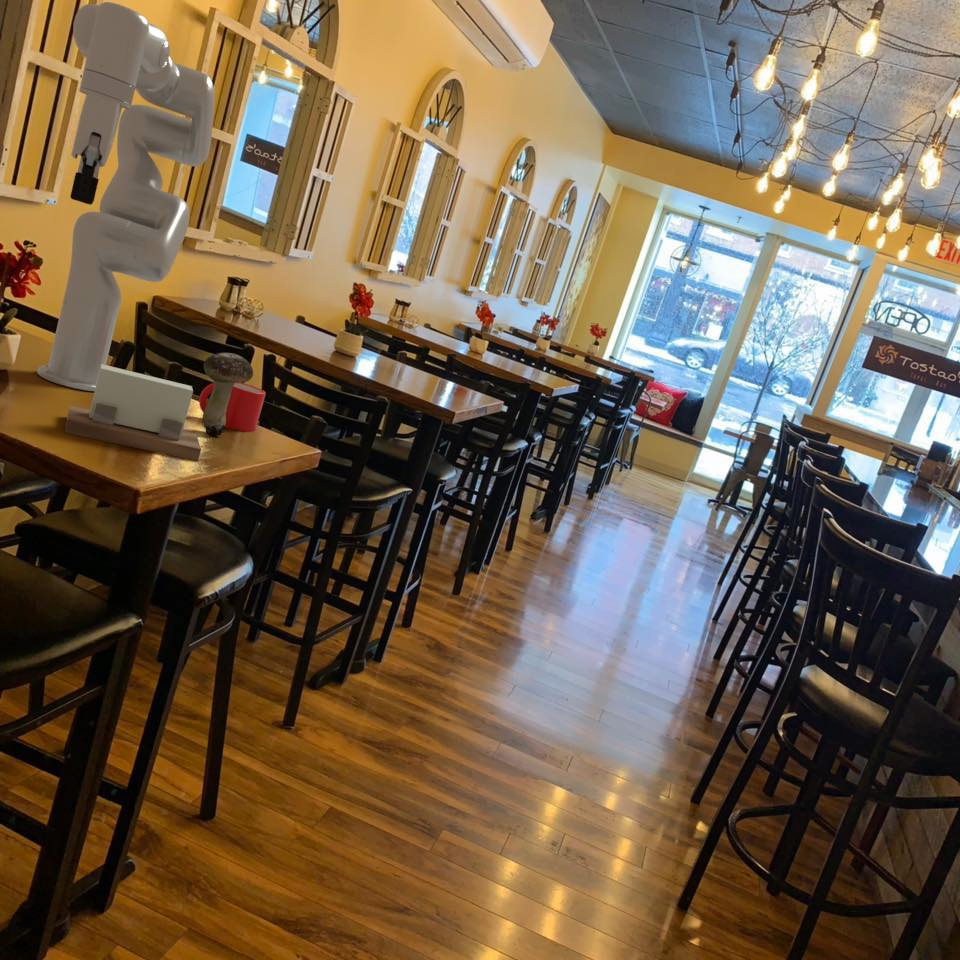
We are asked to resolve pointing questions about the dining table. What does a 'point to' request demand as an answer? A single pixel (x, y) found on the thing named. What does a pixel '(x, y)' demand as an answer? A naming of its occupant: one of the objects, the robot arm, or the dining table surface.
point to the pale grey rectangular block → (141, 398)
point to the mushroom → (223, 387)
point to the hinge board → (132, 432)
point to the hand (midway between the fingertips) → (82, 200)
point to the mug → (239, 406)
